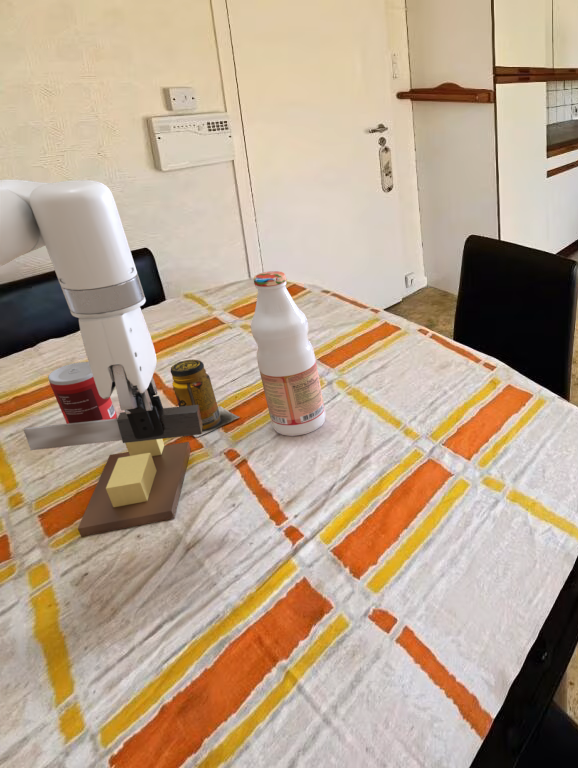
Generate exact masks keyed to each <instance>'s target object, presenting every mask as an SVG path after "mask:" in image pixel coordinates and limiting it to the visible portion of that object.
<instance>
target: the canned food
mask: <svg viewBox="0 0 578 768" xmlns="http://www.w3.org/2000/svg"><path fill="white" fill-rule="evenodd" d="M47 378H48V382H49V385H50V388H51V390H52V392H53V395H54V398H55V399H56V402H57V404H58V406H59V409H60V411H61V414H62V416H63V419H64V420H65V424H69V423H78V422H88V421H98V420H108V419H117V412H116V409H115V407H114V404H113V401H112V398H111V396H110V397H109V398H108V399H103V398H102V397H101V396H100V395H99V393H98V390H97V387H96V384H95V380H94V377H93V374H92V371H91V368H90V365H89V362H88V361H79V362H73V363H69V364H66V365H62V366H60V367H58V368H56V369H54V370H52V371H51V372H49V374H48V376H47Z"/></svg>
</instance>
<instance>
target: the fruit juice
mask: <svg viewBox="0 0 578 768" xmlns="http://www.w3.org/2000/svg"><path fill="white" fill-rule="evenodd" d="M253 285H254V287H255V289H256V290H257V295H256V303H255V308H254V314H253V316H252V319H251V321H250V332H251V335H252V338H253V340H254V342H255V343H256V345H257V350H256V360H257V361H256V362H257V367H258V372H259V375H260V379H261V383H262V387H263V391H264V396H265V401H266V405H267V409H268V414H269V418H270V421H271V426H272V428H273V429H274V431H275V432H276V433H277V434H279V435H283V436H289V437H296V436H303V435H307V434H309V433H312V432H314V431H316V430H318V429H319V428H321V427H322V425H324V423H325V421H326V409H325V403H324V398H323V392H322V387H321V386H322V385H321V381H320V376H319V370H318V365H317V358H316V355H315V350H314V346H313V345H312V343H311V341H310V340H309V337H308V336H309V322H308V318H307V316H306V314H305V313H304V312H303V311H302V310H301V308H299V307H298V305H297V303H296V302H295V300H294V299H293V297H292V295H291V294H290V292H289V290H288V289H287V286H286V285H287V277H286V274H285V272H283V271H278V270H277V271H276V270H275V271H274V270H273V271H272V270H271V271H264V272H261V273H257V274H256V275H254V277H253Z"/></svg>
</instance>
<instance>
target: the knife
mask: <svg viewBox="0 0 578 768" xmlns="http://www.w3.org/2000/svg"><path fill="white" fill-rule="evenodd" d="M157 412H158V415H159V418H160V421H161V424H162V427H163V430H164V432H163V435H161V436H156V437H150V438H144V439H136V438H135V436H134V433H133V430H132V428H131V425H130V422H129V419H128V417H127V414H126V413H125V411H122V412H121V411H120V412H119V414H118V417H117V418H116V419H108V420H98V421H88V422H78V423H69V424H67V423H60V424H51V425H50V424H49V425H41V426H31V427H24V428H23V432H24V435H25V438H26V441H27V443H28V447H29V450H30V451H37V450H38V451H39V450H48V449H56V448H64V447H66V448H67V447H75V446H83V445H90V444H91V445H92V444H100V443H101V444H102V443H110V442H119V441H122V444H125V443H129V442H138V441H147V440H155V439H163V440H164V439H174V438H179V437H181V438H182V437H190V436H193V435H199V434H202V428H203V425H202V420H201V415H200V410H199V405H191V406H181V407H179V406H173V407H172V406H171V407H163V408H161V409H157Z"/></svg>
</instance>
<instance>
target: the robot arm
mask: <svg viewBox="0 0 578 768" xmlns="http://www.w3.org/2000/svg"><path fill="white" fill-rule="evenodd" d="M43 247H45V248H46V250H47V253H48V256H49V258H50V261H51V265H52V266H53V267H52V268H53V269H54V272H55V274H56V277H57V280H58V283H59V285H60V289H61V290H62V293H63V296H64V298H65V301H66V303H67V306H68V310H69V312H70V314H71V316H72V317H74V318H78V325H79V330H80V331H79V332H80V336H81V340H82V344H83V347H84V351H85V355H86V358H87V362H89V365H90V368H91V371H92V374H93V377H94V380H95V384H96V387H97V390H98V393H99V395H100V396H101V397H102V398H103V399H108V398H109V397H110V398H111V397H112V394H113V392H114V390H116V394H117V399H118V403H119V408H120V410H121V411H124V412H125V413H126V414H127V417H128V419H129V422H130V425H131V428H132V430H133V433H134V436H135V438H136V439H144V438H150V437H156V436H161V435H163V432H164V430H163V427H162V424H161V421H160V418H159V415H158V412H157V409H161V408H164V407H163V404H162V401H161V398H160V395H158V388H157V384H156V382H155V379H154V373H155V370H156V367H157V362H158V361H157V359H158V358H157V355H156V350H155V346H154V342H153V340H152V339H153V338H152V336H151V333H150V331H149V328H148V324H147V321H146V319H145V316H144V314H143V311H142V308H141V307H142V306H144V305H145V304H146V302H147V299H146V297H145V293H144V290H143V286H142V283H141V280H140V277H139V274H138V271H137V268H136V264H135V261H134V258H133V255H132V251H131V249H130V245H129V241H128V239H127V235H126V232H125V229H124V226H123V223H122V219H121V216H120V213H119V209H118V207H117V203H116V201H115V198H114V195H113V192H112V191H111V189H110V188H109V187H108V186H107V185H106V184H104V183H102V182H100V181H99V180H98V181H97V180H91V179H75V180H74V179H73V180H61V181H56V182H41V181H33V180H32V181H31V180H25V179H24V180H22V179H0V267H3V266H4V265H6V264H7V265H8V263H10V262H12V261H14V260H15V259H17V258H19V257H21V256H24V255H26V254H29V253H32V252H33V251H37V250H38V249H41V248H43Z"/></svg>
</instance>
